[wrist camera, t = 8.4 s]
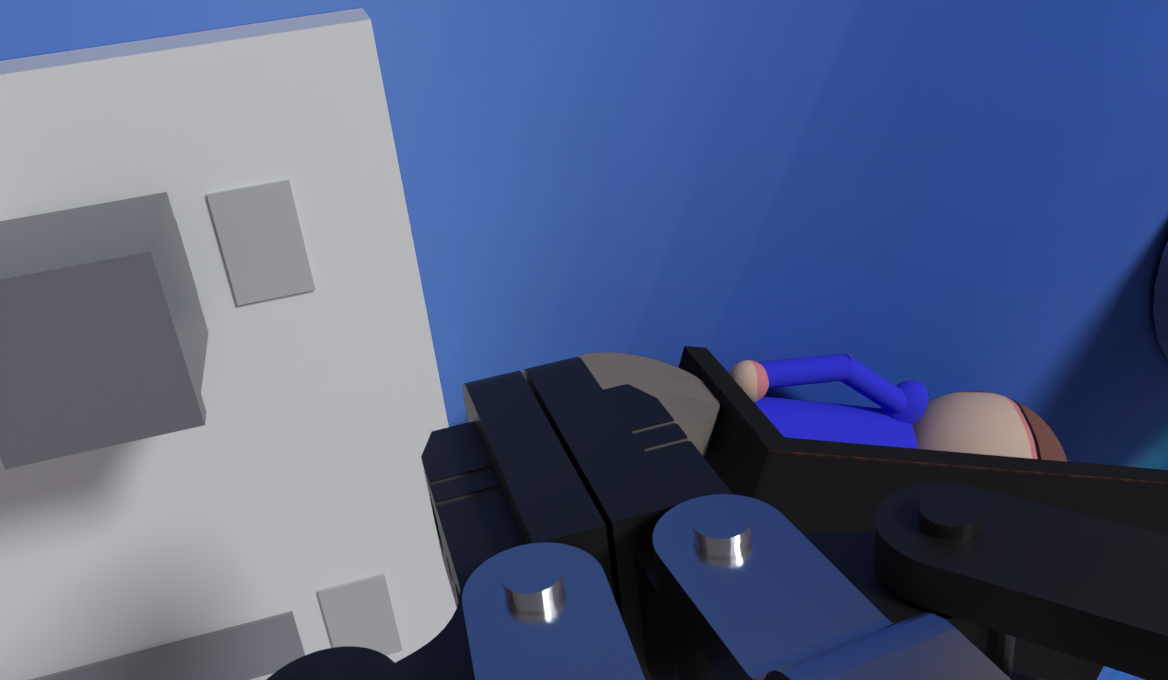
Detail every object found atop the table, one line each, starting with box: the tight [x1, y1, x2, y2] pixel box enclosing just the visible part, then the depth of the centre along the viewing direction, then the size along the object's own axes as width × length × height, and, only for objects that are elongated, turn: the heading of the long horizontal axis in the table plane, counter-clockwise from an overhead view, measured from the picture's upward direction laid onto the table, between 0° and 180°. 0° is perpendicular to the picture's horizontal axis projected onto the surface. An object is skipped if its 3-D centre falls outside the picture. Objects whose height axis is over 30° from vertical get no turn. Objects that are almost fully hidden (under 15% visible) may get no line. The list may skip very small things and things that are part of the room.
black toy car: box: [577, 346, 1168, 680], centre depth 26 cm, size 7×8×15 cm
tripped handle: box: [0, 192, 209, 470], centre depth 18 cm, size 3×3×4 cm
